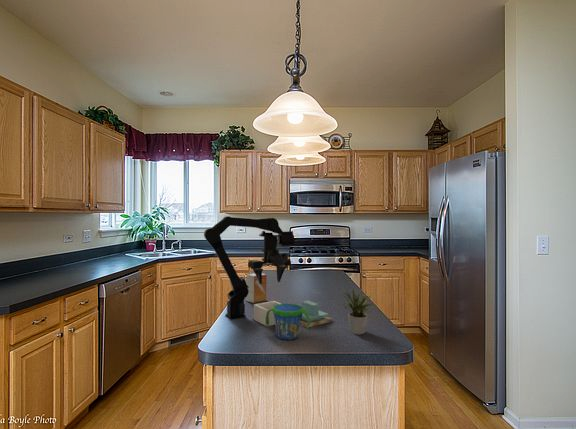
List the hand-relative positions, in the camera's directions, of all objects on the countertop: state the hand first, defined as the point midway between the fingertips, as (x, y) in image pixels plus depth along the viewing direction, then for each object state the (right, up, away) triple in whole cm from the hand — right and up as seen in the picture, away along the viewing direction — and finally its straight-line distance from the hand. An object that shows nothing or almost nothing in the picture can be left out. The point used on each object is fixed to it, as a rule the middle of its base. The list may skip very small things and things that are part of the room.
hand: (269, 283), depth 142 cm
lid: (+17, -12, -10) cm, 23 cm away
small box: (-8, -13, +21) cm, 26 cm away
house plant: (+32, -13, -22) cm, 41 cm away
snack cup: (+8, -13, -27) cm, 31 cm away
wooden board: (+17, -13, -10) cm, 23 cm away
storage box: (+1, -13, -10) cm, 16 cm away
